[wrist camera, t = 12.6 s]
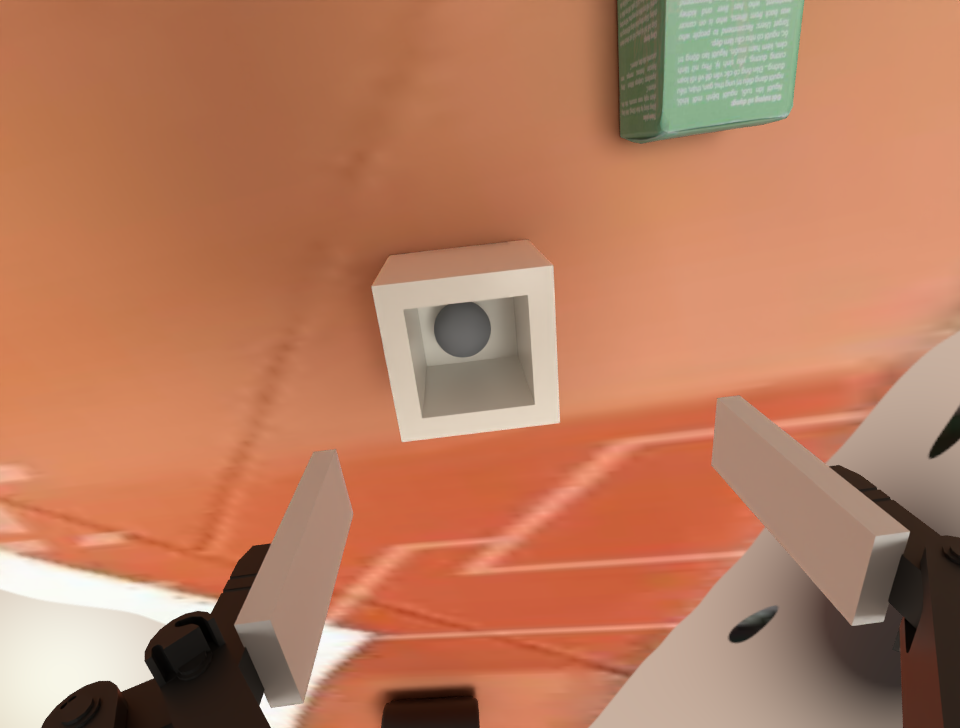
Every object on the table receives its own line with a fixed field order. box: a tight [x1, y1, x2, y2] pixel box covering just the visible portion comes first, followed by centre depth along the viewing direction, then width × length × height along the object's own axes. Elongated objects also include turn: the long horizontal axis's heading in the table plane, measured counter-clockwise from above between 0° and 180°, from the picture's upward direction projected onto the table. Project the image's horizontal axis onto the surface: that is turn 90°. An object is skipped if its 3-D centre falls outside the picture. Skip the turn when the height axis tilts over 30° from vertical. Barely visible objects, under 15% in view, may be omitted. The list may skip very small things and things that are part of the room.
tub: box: [371, 239, 560, 442], centre depth 32 cm, size 10×10×9 cm
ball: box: [434, 302, 491, 357], centre depth 34 cm, size 4×4×4 cm
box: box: [617, 0, 804, 144], centre depth 27 cm, size 7×14×8 cm, turn 8°
